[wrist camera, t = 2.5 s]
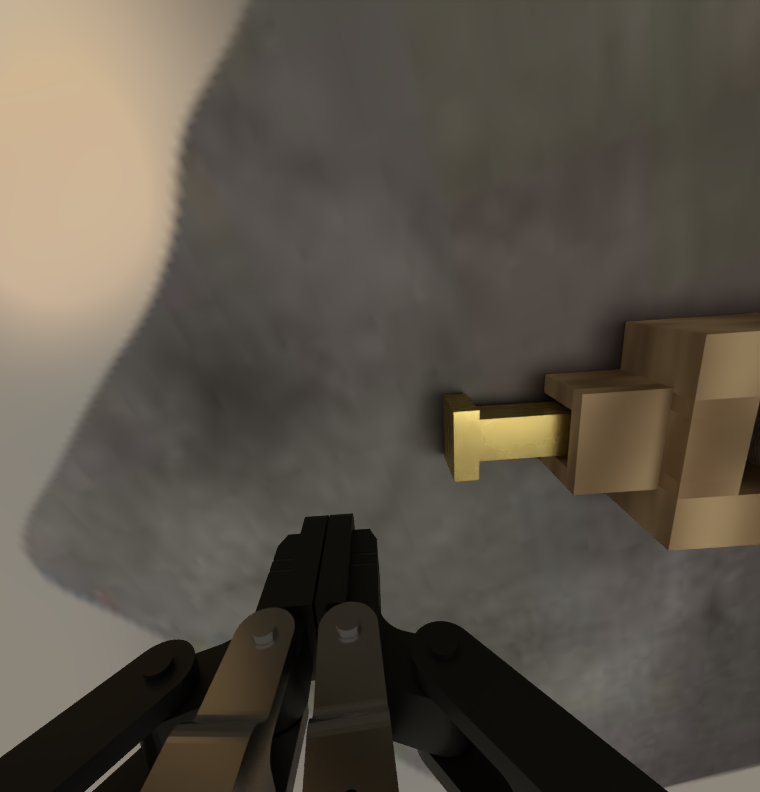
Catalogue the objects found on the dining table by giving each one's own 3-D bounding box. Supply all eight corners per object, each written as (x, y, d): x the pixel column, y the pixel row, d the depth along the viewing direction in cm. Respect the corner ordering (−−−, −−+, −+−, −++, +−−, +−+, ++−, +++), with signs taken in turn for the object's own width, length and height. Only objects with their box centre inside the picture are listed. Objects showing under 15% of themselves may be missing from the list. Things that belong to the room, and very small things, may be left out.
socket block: (820, 308, 20) (963, 317, 15) (775, 481, 23) (883, 535, 18) (547, 326, 20) (604, 341, 15) (538, 498, 23) (582, 556, 18)
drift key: (596, 384, 20) (630, 399, 18) (590, 446, 22) (621, 469, 19) (443, 395, 21) (453, 412, 18) (444, 456, 22) (454, 481, 19)
